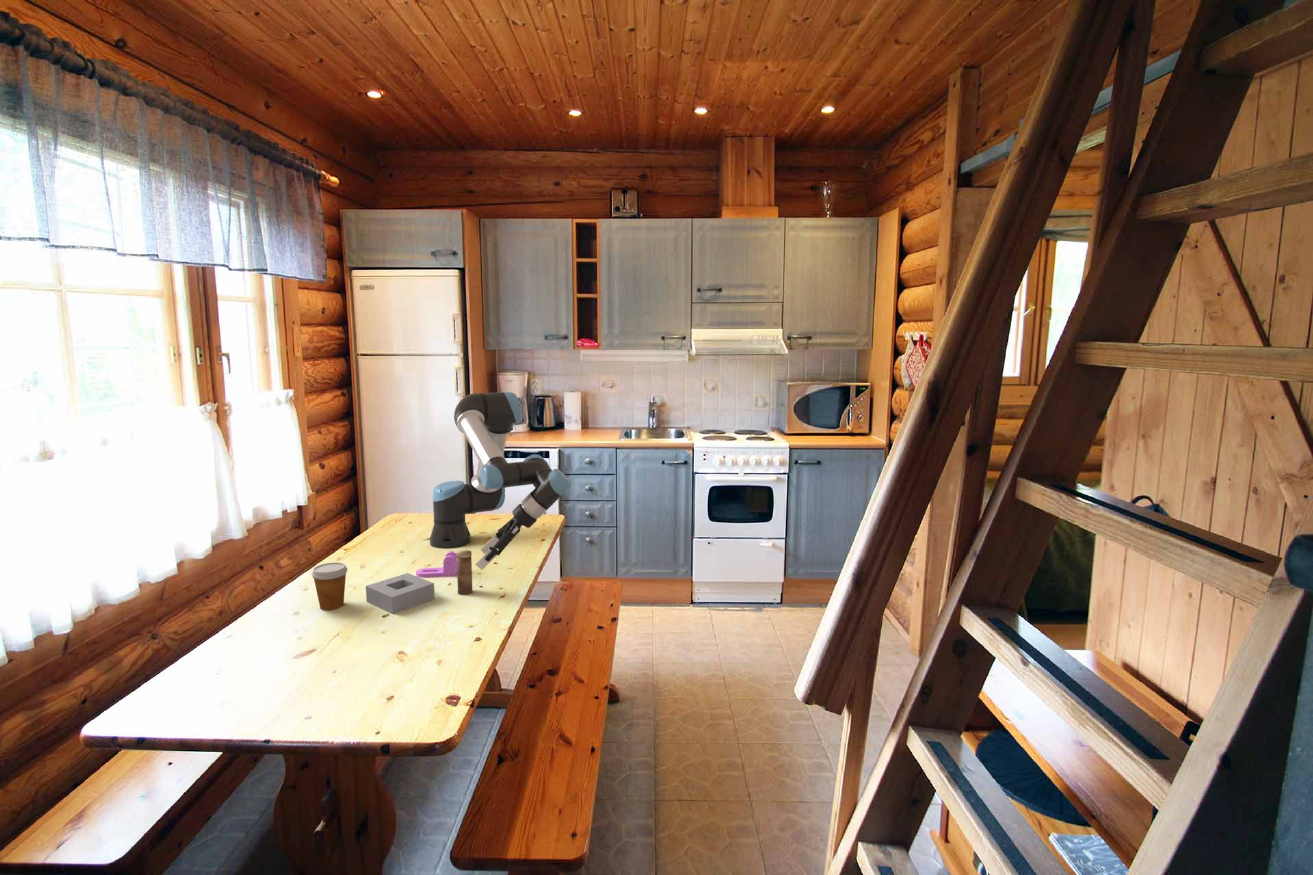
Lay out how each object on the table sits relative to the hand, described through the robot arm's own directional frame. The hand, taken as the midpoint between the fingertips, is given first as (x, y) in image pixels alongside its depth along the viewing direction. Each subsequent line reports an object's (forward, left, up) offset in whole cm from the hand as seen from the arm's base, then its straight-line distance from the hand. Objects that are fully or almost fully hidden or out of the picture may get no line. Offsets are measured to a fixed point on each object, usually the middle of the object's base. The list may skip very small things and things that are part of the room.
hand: (481, 559), depth 205 cm
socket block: (-14, -19, -11) cm, 26 cm away
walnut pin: (-4, -3, -11) cm, 12 cm away
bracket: (-25, +1, -11) cm, 28 cm away
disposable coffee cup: (-26, -34, -11) cm, 44 cm away
